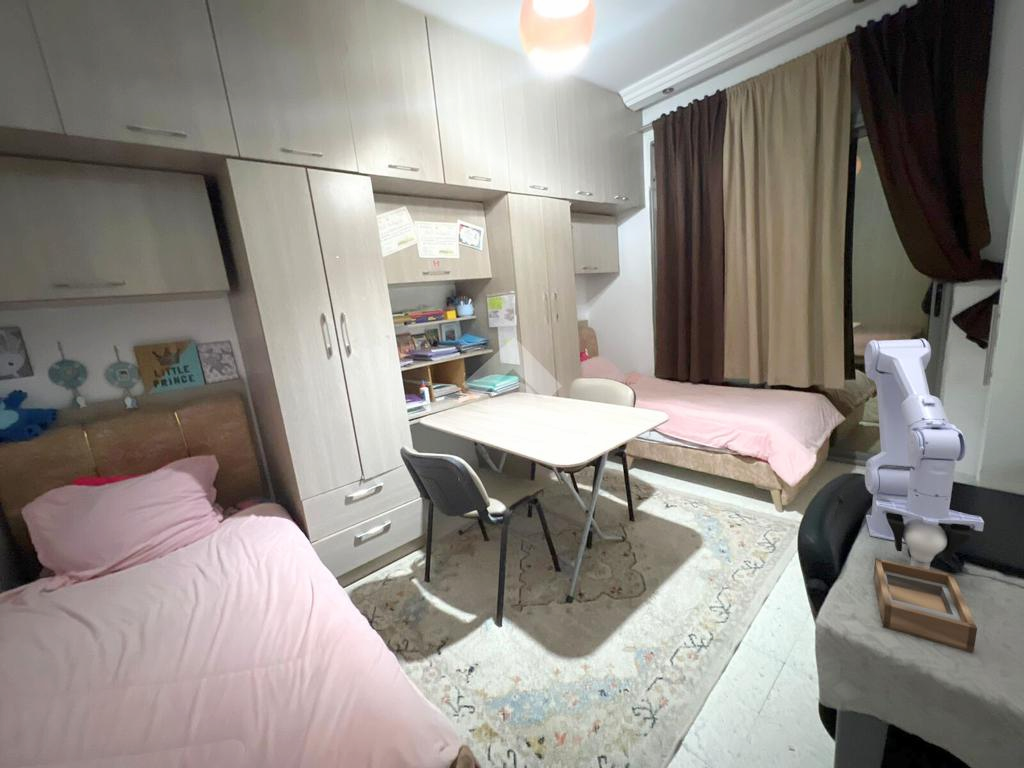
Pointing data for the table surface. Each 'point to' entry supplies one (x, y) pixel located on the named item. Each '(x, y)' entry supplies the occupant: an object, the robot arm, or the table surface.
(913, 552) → the lightbulb
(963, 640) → the socket box
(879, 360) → the robot arm
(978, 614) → the table surface
